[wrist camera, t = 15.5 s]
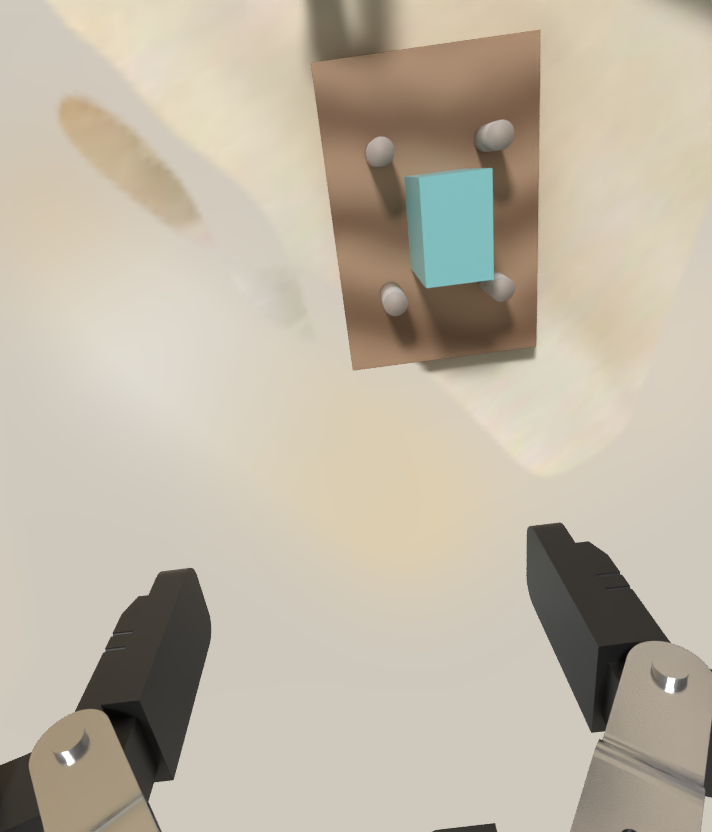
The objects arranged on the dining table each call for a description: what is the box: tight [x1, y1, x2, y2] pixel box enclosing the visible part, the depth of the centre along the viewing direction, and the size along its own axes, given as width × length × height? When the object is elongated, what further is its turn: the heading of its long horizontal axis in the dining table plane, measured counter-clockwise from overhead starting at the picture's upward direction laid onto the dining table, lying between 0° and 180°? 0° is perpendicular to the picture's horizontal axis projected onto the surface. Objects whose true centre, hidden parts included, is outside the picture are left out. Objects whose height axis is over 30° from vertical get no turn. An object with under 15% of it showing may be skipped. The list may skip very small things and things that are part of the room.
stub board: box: [311, 30, 540, 370], centre depth 36 cm, size 20×14×5 cm
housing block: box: [404, 168, 494, 288], centre depth 34 cm, size 6×4×7 cm, turn 7°
